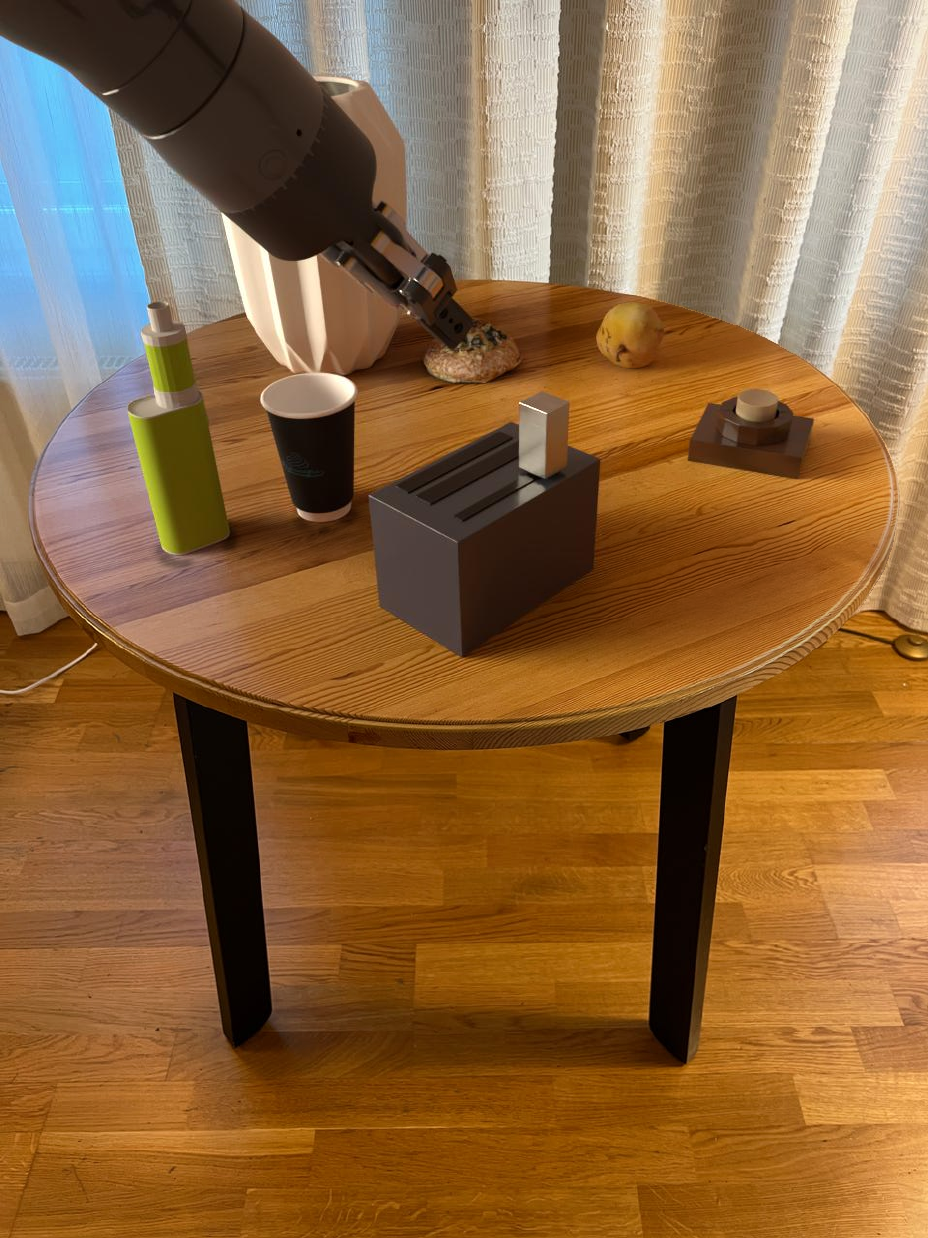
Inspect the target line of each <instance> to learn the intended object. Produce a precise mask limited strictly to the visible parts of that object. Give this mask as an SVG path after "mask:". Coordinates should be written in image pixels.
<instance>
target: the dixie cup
mask: <svg viewBox="0 0 928 1238" xmlns="http://www.w3.org/2000/svg"><path fill="white" fill-rule="evenodd" d="M358 390H359V389H358V387H357V385H356V384H355V383H354V381H352V380H350V379H349V378H348V377H345V376H344V375H336V374H330V373H304V374H297V373H296V374H294V375H288V376H286V377H283V378H280V379H278V380H275V381H274V382H272V383H270V384H269V385H268V386H267V387H266V388H264V389H263V391H262V393H261V394H260V404H261V406H262V407H263V408H264V409H265V412H266V414H267V418H268V421H269V425H270V429H271V433H272V435H273V439H274V443H275V446H276V450H277V454H278V457H279V460H280V465H281V467H282V471H283V474H284V478H285V481H286V486H287V489H288V492H289V494H290V499H291V502H292V504H293V506H294V507H295V508H296V512H297V514H298V515H299V517H301V518H302V519H304V520H306V521H308V522H309V521H310V522H313V523H327V522H332V521H335V520H339V519H340V518H343V517H344V516H346V515H347V514H348V513H349V512H350V511H351V508H352V501H353V500H354V495H355V417H356V416H355V413H356V412H355V411H356V410H355V408H356V399H357V397H358V394H359V391H358Z"/></svg>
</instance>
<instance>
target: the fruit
mask: <svg viewBox="0 0 928 1238" xmlns="http://www.w3.org/2000/svg"><path fill="white" fill-rule="evenodd" d="M664 338H665V327H664V324H663V321H662V320H661V318H660V317H659V316H658V314H657V312H656V311H655V309H654V308H653V307H651V306H650V305H648V304H645V303H641V302H632V301H628V302H622V303H619V304H617V305H615V306H613V307H612V308H610V309H609V310H608V312H607V313H606V314H605V316H604V318H603V320H602V322H601V324H600V325H599V328H598V330H597V332H596V337H595V339H596V344H597V347H598V350H599V352H600V353H601V354H602V355H604V357H606V358H607V359H608V360H609V361H610V362H611V363H612V364H614V365H615V366H618V367H622V368H625V369H639V368H643V367H645V366H647V365H649V364H650V363H652V362H653V361H654V360H655V359H656V357H657V354H658V351H659V349H660V346H661V344H662V342H663V341H664Z"/></svg>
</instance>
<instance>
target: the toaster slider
mask: <svg viewBox="0 0 928 1238" xmlns="http://www.w3.org/2000/svg"><path fill="white" fill-rule="evenodd" d="M569 421H570V401H568V400H567V399H563V398H560V397H558V396H555V395H553V394H550V393H548V392H545V391H542V390H541V391H539V392H537V393H535V394H533V395H530V396H529V397H527V398H525V399H523V400H521V401H519V403H518V425H519V468H521V469H524V470H526V471H528V472H530V473H532V474H535V475H537V476H539V477H541V478H543V479H547V478H549V477H551V476H552V475H554V474H556V473H557V472H559V471H561V470H563V469H564V468H566V467H567V452H568V446H569V427H570V424H569V423H570V422H569Z"/></svg>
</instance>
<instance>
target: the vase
mask: <svg viewBox="0 0 928 1238" xmlns="http://www.w3.org/2000/svg"><path fill="white" fill-rule="evenodd" d="M311 76H312V77H313V78H314V79H315V80H316V81H317V82H318V83H319V84H320V85H321V87H322V88H323V89H324V90H325V91H326V92H327V93H328V94H329V95H330V97H331V98H332V99H333V100H334V101H335V102H336V103H337V104H338V105H339V107H340V108H341V109H342V110H343V111H344V112H345V113H346V114H347V115H348V116H349V118H350V119H351V120H352V121H353V122H354V123H355V124H356V125H357V126H358V128H359V129H360V130H361V131H362V132H363V133H364V134H365V135H366V136H367V138H368V139H369V140H370V142H371V143H372V145H373V148H374V151H375V154H376V160H377V173H376V180H375V183H374V189H373V197H372V201H373V202H374V203H375V204H377V203H378V201H379V200H382V201H384V202H385V203H387V204H388V205H389V206H390V207H392V208H393V209H394V210H395V211H396V212H397V213H398V215H399V216H400V217H401V218H402V219H403V220H404V222H405V229H406V230H407V227H408V225H407V218H408V217H407V215H408V214H407V211H408V210H407V208H408V207H407V205H408V203H407V197H408V194H407V193H408V191H407V189H408V188H407V187H408V186H407V165H406V164H407V163H406V162H407V161H406V146H405V141H404V139H403V137H402V135H401V133H400V132H399V129H398V128H397V127H396V125H395V123H394V122H393V120H392V118H391V117H390V115H389V113H388V111H387V110H386V108H385V106H384V105H383V103H382V101H381V100H380V99H379V97H378V94H376V92H375V90H374V89H373V87H372V86H371V84H370V83H369V82H367V81H366V80H359V79H352V78H351V77H350V76H347V75H346V76H345V75H343V76H342V75H341V76H335V75H334V76H329V75H324V74H312V75H311ZM220 213H221V217H222V222H223V227H224V230H225V235H226V238H227V243H228V247H229V251H230V256H231V260H232V265H233V268H234V273H235V277H236V280H237V281H236V282H237V285H238V288H239V293H240V296H241V297H240V298H241V301H242V304H243V309H244V312H245V314H246V318H247V320H248V321H249V323H250V324H251V325H252V327H253V329H254V330H255V333H256V335H257V336H258V337H259V339H260V341H262V343H263V344H264V346H265V347H266V348H267V351H269V353H270V354H271V355H272V356H273V358H274V359H275V360H276V362H277V363H278V364H280V365H281V366H284V367H287V369H288V370H289V371H290V372H292V373H293V374H296V375H297V374H304V373H330V374H336V375H340V376H348V375H349V374H351V373H353V372H355V371H360V370H366V369H369V368H371V367H372V366H373V364H374V363H375V361H377V360H379V359H381V358H383V357H384V355H385V353H386V352H387V350H388V348H389V346H390V343H391V340H392V339H393V336H394V335H395V332H396V329H397V328H398V325H399V322H400V320H401V318H402V316H403V313H404V311H403V310H401V309H400V308H397V309H396V308H395V307H394V306H391V305H390V304H388V303H387V302H385V301H384V300H382V299H381V298H379V297H378V296H377V295H376V294H375V293H372V292H370V291H368V290H367V289H365V288H363V287H362V286H360V285H359V284H358V283H357V282H356V281H355V280H353V279H352V278H351V277H350V276H349V275H348V274H347V273H346V272H344V271H343V270H342V269H341V268H340V267H336V266H334V265H332V264H331V263H329V262H327V261H326V260H324V259H323V258H322V257H321V256H320V255H319V254H318V255H316V256H314V257H311V258H309V259H305V260H301V261H284V260H281V259H278V258H276V257H274V256H272V255H271V254H270V253H268V252H267V251H266V250H265V249H264V248H263V247H261V246H260V245H259V244H258V243H257V242H256V241H254V240H253V239H252V238H251V237H250V236H249V235H248V234H246V233H245V232H244V231H243V230H242V229H241V228H239V227H238V226H237V225H236V224H235V223H234V222H232V221H231V220H230V219H229V218H228V217H226V216H225V215H224V214H223V213H222V212H221V211H220ZM407 231H408V230H407Z"/></svg>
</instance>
